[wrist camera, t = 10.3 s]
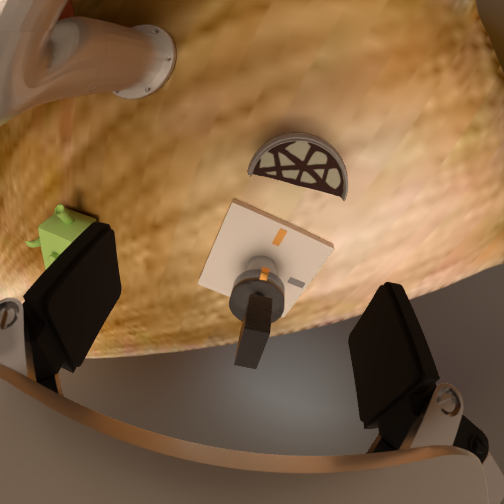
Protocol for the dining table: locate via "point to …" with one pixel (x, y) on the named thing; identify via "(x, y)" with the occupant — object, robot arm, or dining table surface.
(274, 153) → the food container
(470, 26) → the dining table surface
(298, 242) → the post base
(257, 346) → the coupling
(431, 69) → the dining table surface
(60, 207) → the kettle
